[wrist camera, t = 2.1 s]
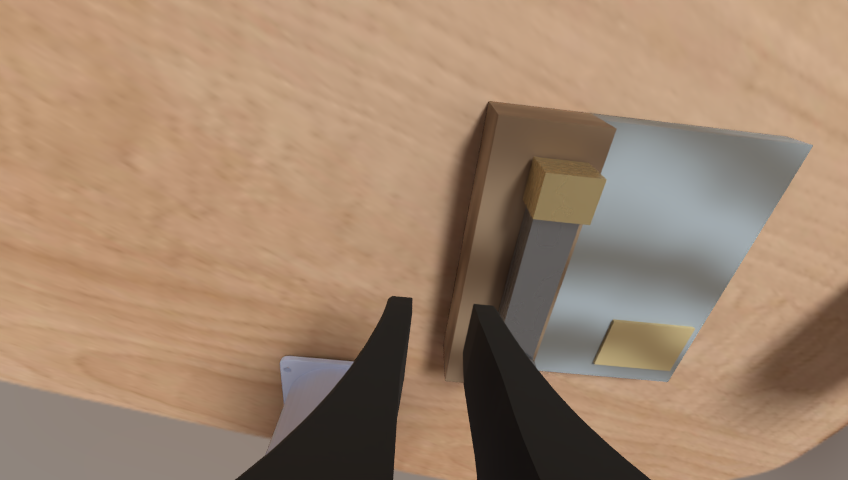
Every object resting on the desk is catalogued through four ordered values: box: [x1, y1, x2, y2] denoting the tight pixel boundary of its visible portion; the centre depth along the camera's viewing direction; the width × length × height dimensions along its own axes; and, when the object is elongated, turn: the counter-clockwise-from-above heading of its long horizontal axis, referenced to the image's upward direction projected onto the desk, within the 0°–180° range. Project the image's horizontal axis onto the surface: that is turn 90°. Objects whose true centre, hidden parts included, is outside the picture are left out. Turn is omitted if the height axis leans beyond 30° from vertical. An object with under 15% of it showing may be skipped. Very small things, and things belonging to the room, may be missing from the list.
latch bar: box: [498, 157, 607, 367], centre depth 19 cm, size 13×3×2 cm, turn 173°
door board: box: [443, 101, 813, 383], centre depth 22 cm, size 16×15×3 cm
